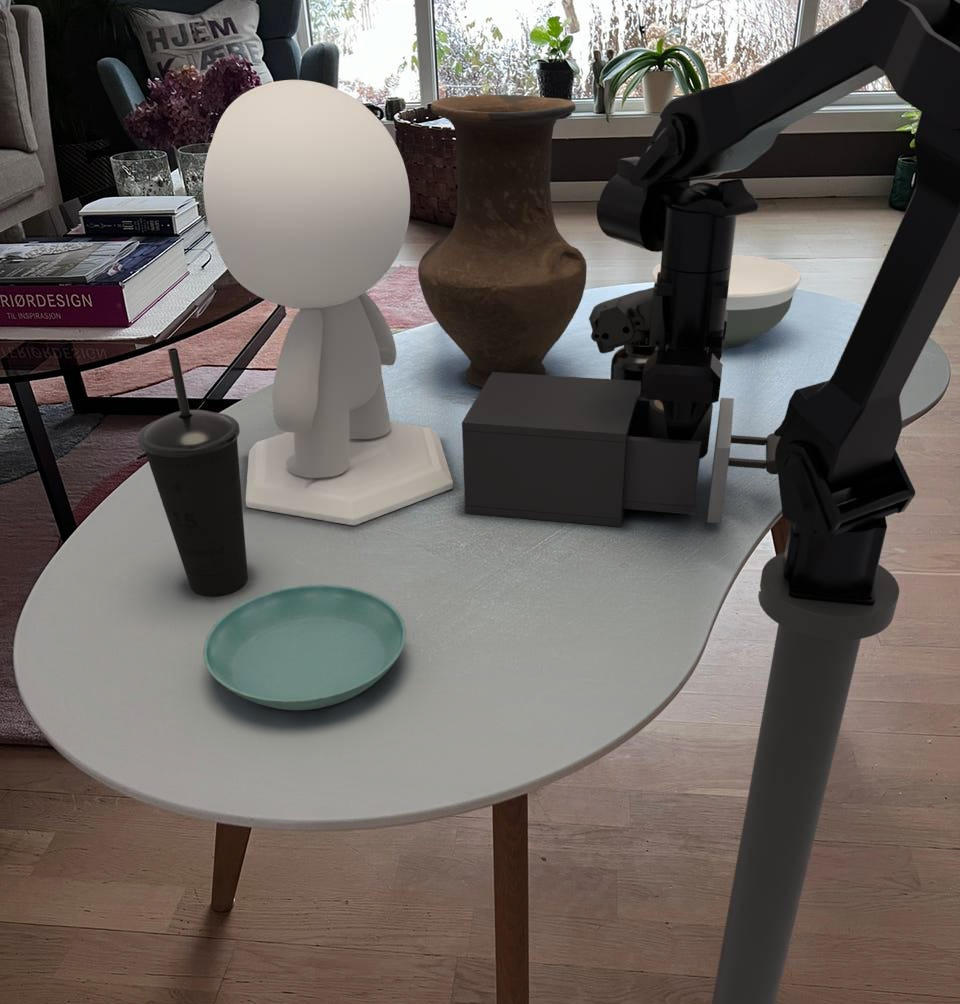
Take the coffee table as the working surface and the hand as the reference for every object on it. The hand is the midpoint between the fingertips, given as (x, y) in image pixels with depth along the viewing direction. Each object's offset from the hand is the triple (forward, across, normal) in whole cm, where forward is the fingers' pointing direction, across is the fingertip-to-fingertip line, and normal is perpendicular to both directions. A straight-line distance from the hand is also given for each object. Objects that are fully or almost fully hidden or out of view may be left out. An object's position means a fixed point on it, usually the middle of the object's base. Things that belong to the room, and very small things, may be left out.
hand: (679, 439), depth 93 cm
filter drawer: (+5, 0, 0) cm, 5 cm away
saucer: (+6, +32, -24) cm, 41 cm away
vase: (+6, -29, -23) cm, 37 cm away
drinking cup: (+6, +22, -36) cm, 43 cm away
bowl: (+6, -48, +2) cm, 48 cm away
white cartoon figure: (+6, 0, -33) cm, 33 cm away
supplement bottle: (+6, -14, -5) cm, 16 cm away
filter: (+1, 0, 0) cm, 1 cm away
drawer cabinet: (+6, 0, -12) cm, 13 cm away
